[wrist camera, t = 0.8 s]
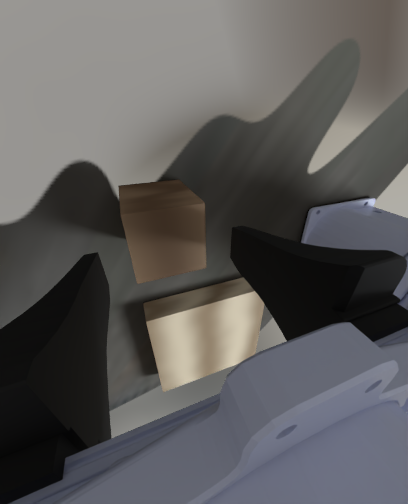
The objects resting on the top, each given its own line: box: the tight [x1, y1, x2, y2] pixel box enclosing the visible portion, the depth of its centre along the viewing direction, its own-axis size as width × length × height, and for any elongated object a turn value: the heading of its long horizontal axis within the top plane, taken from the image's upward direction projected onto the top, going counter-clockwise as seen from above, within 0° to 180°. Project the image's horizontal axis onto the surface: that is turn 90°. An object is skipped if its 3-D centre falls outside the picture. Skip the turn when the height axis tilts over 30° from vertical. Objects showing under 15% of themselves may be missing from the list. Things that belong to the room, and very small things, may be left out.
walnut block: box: [119, 180, 206, 284], centre depth 15 cm, size 4×4×6 cm
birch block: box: [143, 277, 264, 392], centre depth 26 cm, size 13×13×3 cm
